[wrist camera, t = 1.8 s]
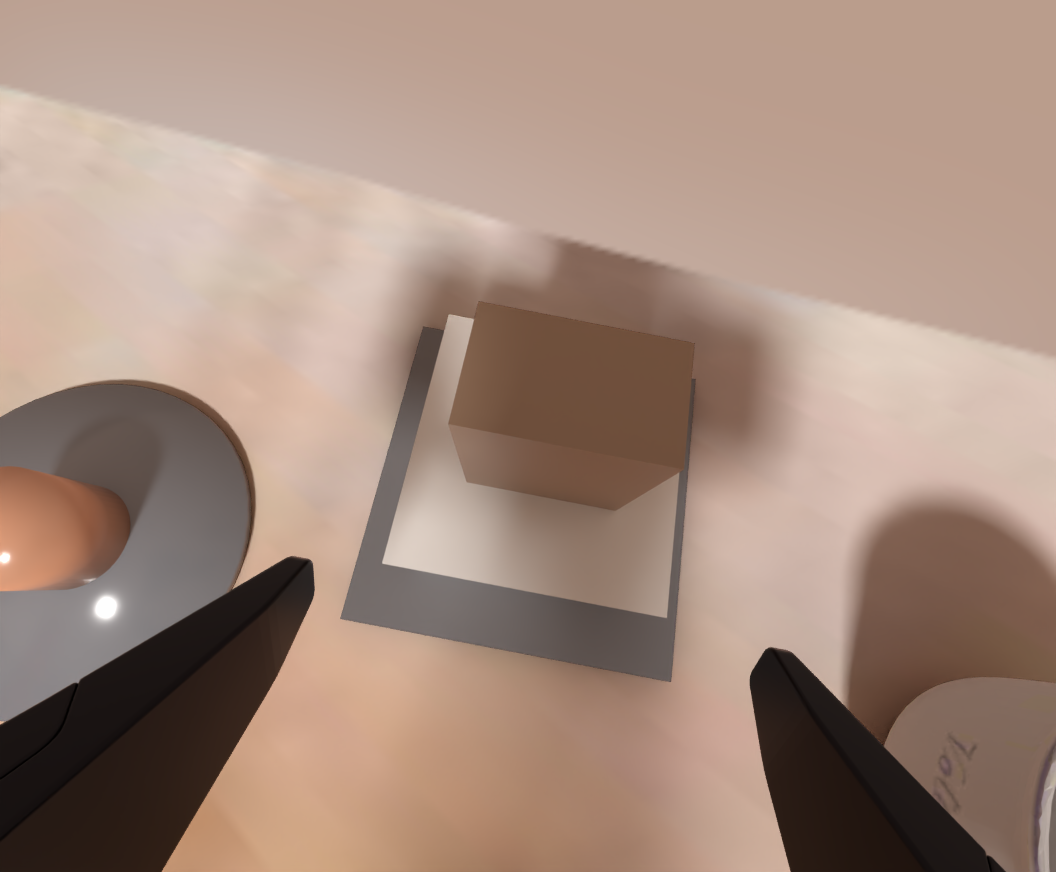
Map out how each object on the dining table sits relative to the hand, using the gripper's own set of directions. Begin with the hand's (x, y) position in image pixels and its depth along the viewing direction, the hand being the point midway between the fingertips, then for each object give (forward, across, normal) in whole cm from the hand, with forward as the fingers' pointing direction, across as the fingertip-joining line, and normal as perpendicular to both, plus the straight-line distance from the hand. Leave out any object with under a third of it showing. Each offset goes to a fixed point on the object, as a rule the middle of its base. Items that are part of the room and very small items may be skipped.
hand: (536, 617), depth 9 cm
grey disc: (+8, +19, +9) cm, 22 cm away
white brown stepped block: (+12, 0, +5) cm, 13 cm away
